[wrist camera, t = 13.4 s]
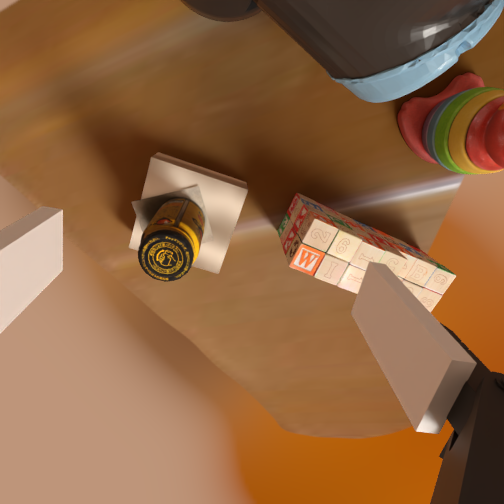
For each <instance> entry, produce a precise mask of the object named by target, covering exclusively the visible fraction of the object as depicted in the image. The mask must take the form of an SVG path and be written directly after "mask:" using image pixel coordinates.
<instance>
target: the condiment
mask: <svg viewBox="0 0 504 504" xmlns="http://www.w3.org/2000/svg"><path fill="white" fill-rule="evenodd" d="M131 203H132V205H133V208H134V210H135V213H136V216H137V218H138V221H139V224H140V226H141V229H142V232H143V234H142V237H141V241H140V242H141V243H140V246H139V250H138V259H139V262H140V265H141V267H142V269H143V270H144V271H145V273H146V274H148V275H149V276H151V277H152V278H154V279H157V280H161V281H174V280H177V279H180V278H181V277H182V276H183V275H185V274H186V273H187V272H188V271H189V269H190V268H191V266H192V264H193V263H194V262H195V260H196V259H197V257H198V254H199V251H200V246H201V244H202V243H206V242H211V241H214V238H213V234H212V230H211V227H210V223H209V220H208V216H207V213H206V209H205V205H204V202H203V199H202V195H201V192H200V188H199V186H196V187H192V188H188V189H183V190H179V191H174V192H170V193H166V194H162V195H158V196H154V197H149V198H145V199H141V200H137V201H133V202H131Z"/></svg>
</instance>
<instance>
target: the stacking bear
mask: <svg viewBox="0 0 504 504" xmlns="http://www.w3.org/2000/svg"><path fill="white" fill-rule="evenodd" d="M398 124H399V128H400V131H401V133H402V136H403V138H404V140H405V141H406V143H407V145H408V146H409V147H410V149H411V150H412V151H413V152H414V153H415V154H416V155H417V156H419V157H420V158H422V159H423V160H425V161H427V162H430V163H436V164H440V165H441V166H443V167H445V168H447V169H449V170H451V171H454V172H457V173H462V174H486V173H494V172H499V171H502V170H504V90H503V89H499V88H493V87H485V86H484V83H483V80H482V79H481V77H480V76H477V75H474V74H473V73H469V72H467V73H465V74H463V75H458V76H457V77H455V78H454V79H453V80H452V81H451V83H450V84H449V85H448V86H447V88H446V89H444V90H443V91H442V92H441V93H439V94H438V95H435V96H433V97H429V98H422V97H413V98H411V99H410V100H409V101H408V102H404V103H403V105H402V107H401V110H400V111H399V113H398Z"/></svg>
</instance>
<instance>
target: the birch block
mask: <svg viewBox="0 0 504 504" xmlns="http://www.w3.org/2000/svg"><path fill="white" fill-rule="evenodd" d="M196 186H199V188H200V192H201V195H202V199H203V202H204V205H205V209H206V213H207V216H208V220H209V223H210V227H211V230H212V234H213V238H214V241H211V242H206V243H202V244H201V246H200V251H199V254H198V257H197V259H196V260H195V262H194V263H193V264H192V266H193V267H197V268H200V269H204V270H207V271H211V272H214V273H217V274H219V271H220V268H221V265H222V262H223V260H224V257H225V254H226V251H227V248H228V245H229V243H230V240H231V237H232V234H233V231H234V229H235V226H236V223H237V220H238V217H239V214H240V212H241V209H242V206H243V203H244V200H245V197H246V195H247V192H248V187H247V182H244V181H241V180H238V179H235V178H233V177H230V176H227V175H224V174H221V173H218V172H215V171H212V170H209V169H206V168H203V167H201V166H198V165H195V164H192V163H189V162H186V161H183V160H180V159H177V158H174V157H171V156H169V155H166V154H163V153H160V152H158V153H156V154H155V155H154V156H152V157H151V160H150V164H149V168H148V173H147V177H146V181H145V185H144V189H143V193H142V197H141V199H145V198H149V197H154V196H158V195H162V194H166V193H170V192H174V191H179V190H183V189H188V188H192V187H196ZM142 234H143V232H142V229H141V226H140V224H139V221H138V218H137V217H136V221H135V225H134V229H133V233H132V237H131V241H130V245H129V248H131V249H135V250H139V246H140V243H141V242H140V241H141V237H142Z"/></svg>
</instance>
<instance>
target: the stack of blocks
mask: <svg viewBox="0 0 504 504" xmlns="http://www.w3.org/2000/svg"><path fill="white" fill-rule="evenodd" d="M278 234H279V238H280V239H281V243H282V245H283V250H284V253H285V255H286V257H287V261H288V264H289V267H292V268H294V269H297V270H299V271H302V272H304V273H307V274H309V275H313V276H314V277H315V278H318V279H320V280H323V281H326V282H328V283H331V284H334V285H337V286H338V287H340V288H343V289H346V290H348V291H351V292H354V293H356V294H358V292H359V289H360V286H361V283H362V280H363V278H364V275H365V272H366V269H367V266H368V263H369V261H370V262H376V263H382V264H386V265H387V266H388V267H389V269H390V270H391V271H392V272H393V273H394V274H395V275H396V276H397V277H398V278H399V279H400V280H401V282H402V283H403V284H404V285H405V286H406V287H407V288H408V289H409V290H410V291H411V292H412V293H413V295H414V296H415V297H416V298H417V299H418V300H419V301H420V302H421V303H422V304H423V305H424V307H425V308H426V309H427V310H428V311H429V312H431V311H432V310H433V308H434V307H435V305H436V304H437V303H438V301H439V300H440V298H441V297H442V294H443V293H444V292H445V291H446V290H447V288H448V287H449V285H450V284H451V283H452V281H453V280H454V278H455V277H456V275H455V274H454V273H453V272H451V271H450V270H449V269H447V268H446V267H445V266H443V265H440V264H439V263H438V262H437V261H435V260H434V259H433V258H431V257H429V256H428V255H427V254H426V253H424V252H423V251H421V250H420V249H417V248H415V247H413V246H411V245H408V244H406V243H405V242H403V241H401V240H399V239H397V238H394V237H392V236H390V235H388V234H386V233H384V232H381V231H379V230H377V229H375V228H373V227H369V226H367V225H365V224H363V223H361V222H358V221H356V220H354V219H351V218H349V217H347V216H345V215H343V214H341V213H339V212H336V211H334V210H333V209H331V208H329V207H327V206H325V205H322V204H320V203H318V202H316V201H314V200H312V199H310V198H308V197H306V196H304V195H301V194H299V193H296V195H295V197H294V199H293V200H292V202H291V204H290V206H289V208H288V210H287V213H286V215H285V217H284V219H283V221H282V223H281V225H280V227H279V229H278Z"/></svg>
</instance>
